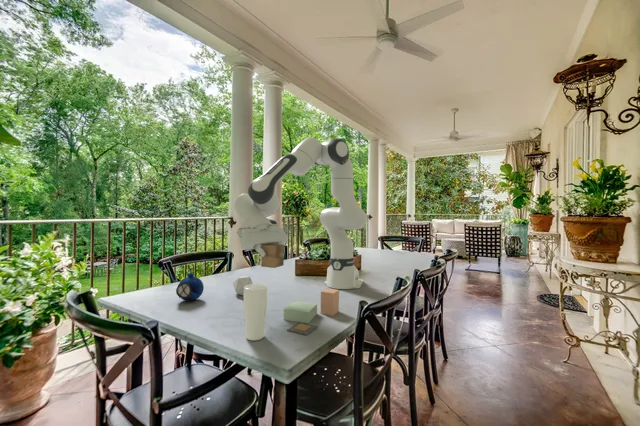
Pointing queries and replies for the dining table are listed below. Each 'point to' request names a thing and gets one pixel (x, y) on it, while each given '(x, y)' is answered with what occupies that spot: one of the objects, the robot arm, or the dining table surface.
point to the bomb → (190, 288)
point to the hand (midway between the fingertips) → (273, 254)
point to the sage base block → (300, 312)
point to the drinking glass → (255, 310)
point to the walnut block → (273, 255)
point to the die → (241, 284)
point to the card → (302, 328)
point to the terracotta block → (329, 301)
